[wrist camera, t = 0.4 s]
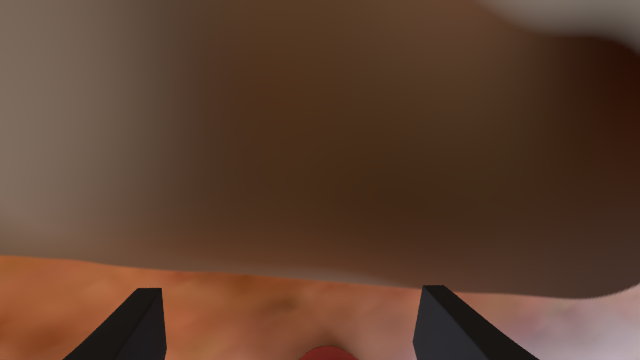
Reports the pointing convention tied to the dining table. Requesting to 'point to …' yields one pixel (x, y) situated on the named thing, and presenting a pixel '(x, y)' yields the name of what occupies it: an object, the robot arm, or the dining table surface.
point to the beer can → (328, 354)
